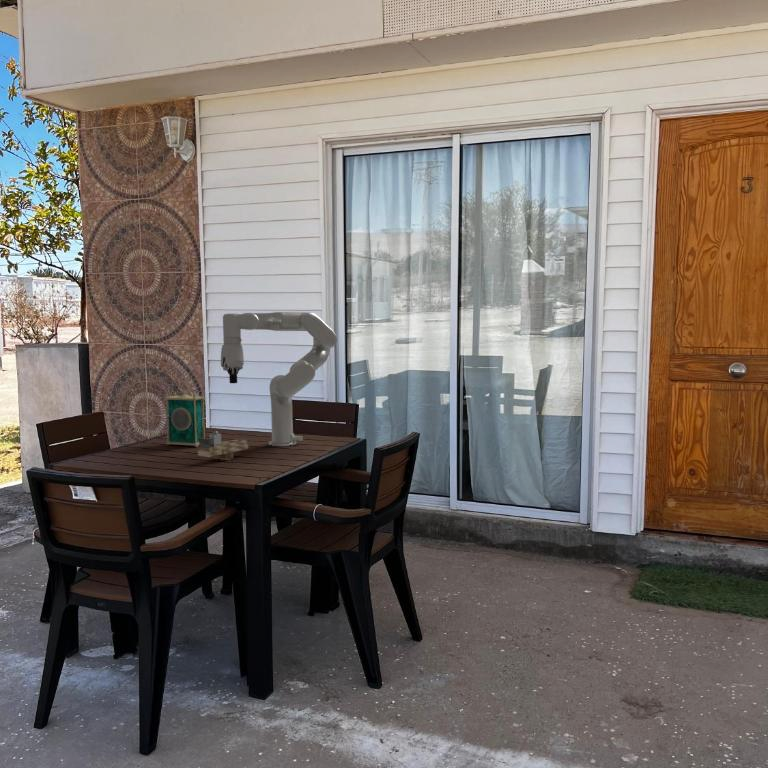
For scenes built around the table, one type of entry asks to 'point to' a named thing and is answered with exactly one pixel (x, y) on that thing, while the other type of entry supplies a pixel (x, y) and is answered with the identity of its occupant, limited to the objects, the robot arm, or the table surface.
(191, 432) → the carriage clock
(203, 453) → the beam
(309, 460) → the table surface
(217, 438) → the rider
